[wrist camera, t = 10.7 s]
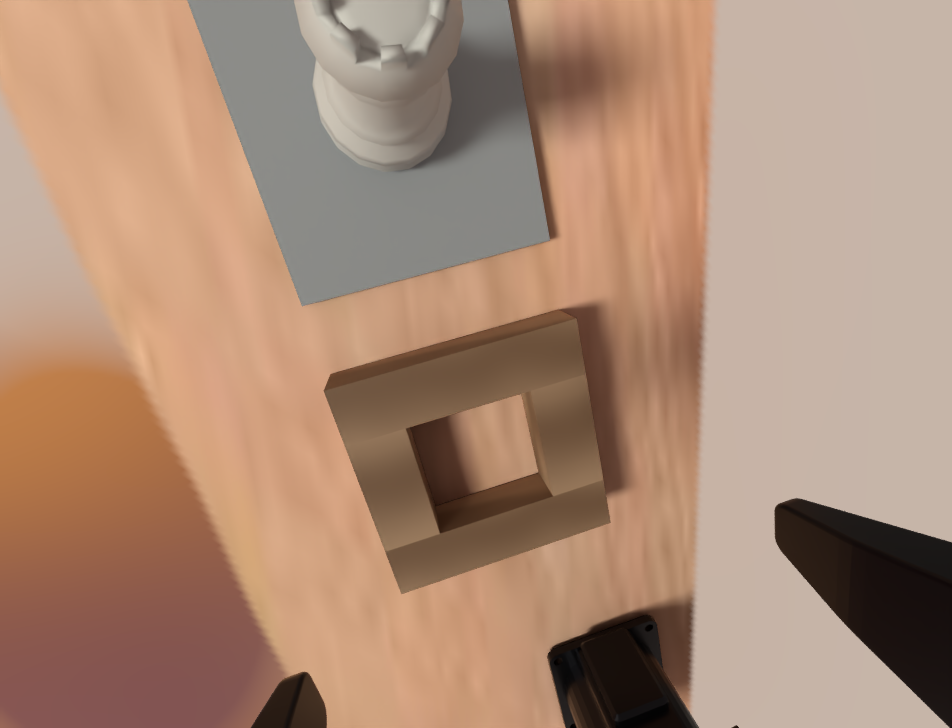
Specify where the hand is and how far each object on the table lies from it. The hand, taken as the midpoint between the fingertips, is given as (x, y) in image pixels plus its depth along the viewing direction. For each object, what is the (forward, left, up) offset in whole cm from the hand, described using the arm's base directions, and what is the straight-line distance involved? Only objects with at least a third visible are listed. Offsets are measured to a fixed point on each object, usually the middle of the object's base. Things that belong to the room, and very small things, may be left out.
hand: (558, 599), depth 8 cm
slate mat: (+11, 0, -12) cm, 16 cm away
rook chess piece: (+11, 0, -12) cm, 16 cm away
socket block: (-3, 0, -12) cm, 12 cm away
